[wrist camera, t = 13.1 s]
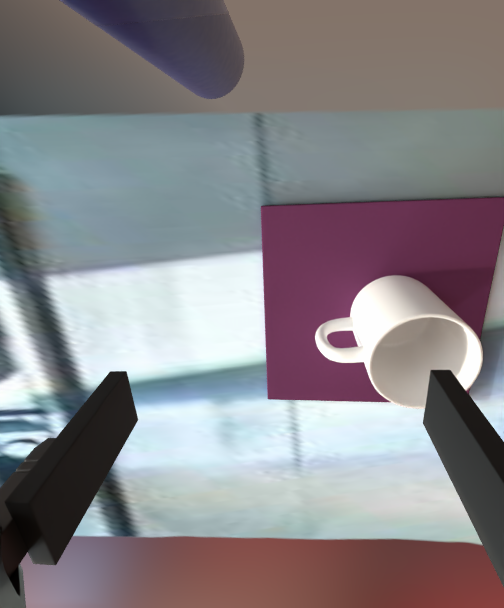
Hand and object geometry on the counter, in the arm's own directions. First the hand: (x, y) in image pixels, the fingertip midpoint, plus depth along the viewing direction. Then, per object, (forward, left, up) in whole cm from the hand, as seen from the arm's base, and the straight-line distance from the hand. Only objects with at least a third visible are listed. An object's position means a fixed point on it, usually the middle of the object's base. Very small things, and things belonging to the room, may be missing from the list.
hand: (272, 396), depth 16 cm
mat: (+5, +9, -22) cm, 25 cm away
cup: (+5, +9, -22) cm, 24 cm away
